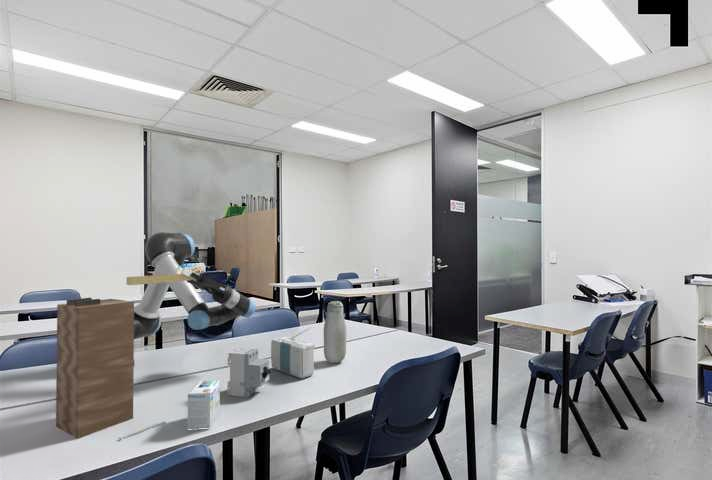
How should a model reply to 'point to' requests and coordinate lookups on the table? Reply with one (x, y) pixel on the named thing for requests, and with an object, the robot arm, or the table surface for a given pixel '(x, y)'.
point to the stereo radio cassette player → (293, 356)
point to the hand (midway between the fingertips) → (180, 269)
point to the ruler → (142, 430)
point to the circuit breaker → (246, 371)
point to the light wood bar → (156, 279)
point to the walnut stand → (94, 364)
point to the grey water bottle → (334, 333)
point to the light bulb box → (203, 404)
